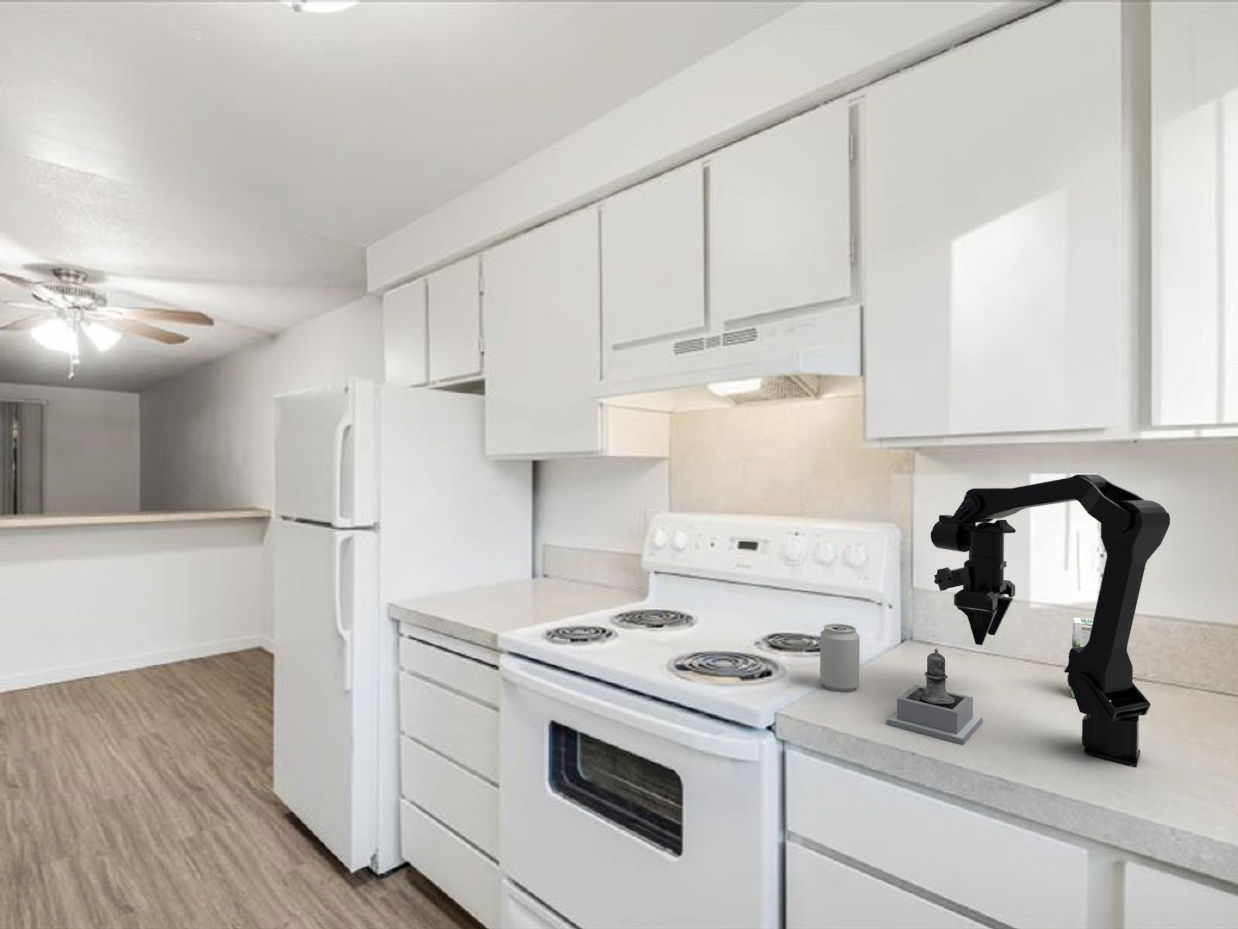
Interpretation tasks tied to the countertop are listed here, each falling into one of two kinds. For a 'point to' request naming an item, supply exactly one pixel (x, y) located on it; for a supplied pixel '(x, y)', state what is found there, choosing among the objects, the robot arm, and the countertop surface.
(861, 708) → the countertop surface
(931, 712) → the dock
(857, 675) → the can
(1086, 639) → the syrup box
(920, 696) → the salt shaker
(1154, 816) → the countertop surface
